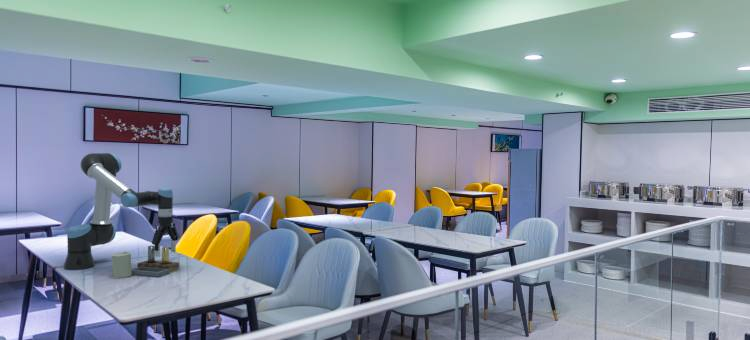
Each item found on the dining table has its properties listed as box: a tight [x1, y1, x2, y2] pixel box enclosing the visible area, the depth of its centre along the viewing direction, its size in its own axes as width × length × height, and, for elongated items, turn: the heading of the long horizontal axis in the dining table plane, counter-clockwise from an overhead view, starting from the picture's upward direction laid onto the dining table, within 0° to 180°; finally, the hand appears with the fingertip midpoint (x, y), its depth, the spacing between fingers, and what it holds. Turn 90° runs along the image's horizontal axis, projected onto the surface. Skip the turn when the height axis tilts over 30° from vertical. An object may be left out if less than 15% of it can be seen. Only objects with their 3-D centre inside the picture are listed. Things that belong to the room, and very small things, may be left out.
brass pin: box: [161, 246, 170, 265], centre depth 292 cm, size 4×4×13 cm
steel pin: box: [147, 245, 156, 263], centre depth 294 cm, size 4×4×13 cm
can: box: [111, 251, 133, 279], centre depth 278 cm, size 9×9×12 cm
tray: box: [131, 266, 170, 278], centre depth 283 cm, size 18×9×2 cm, turn 76°
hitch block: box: [137, 259, 180, 274], centre depth 293 cm, size 20×9×4 cm, turn 76°
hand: (165, 254), depth 292 cm, fingers open, 13 cm apart
